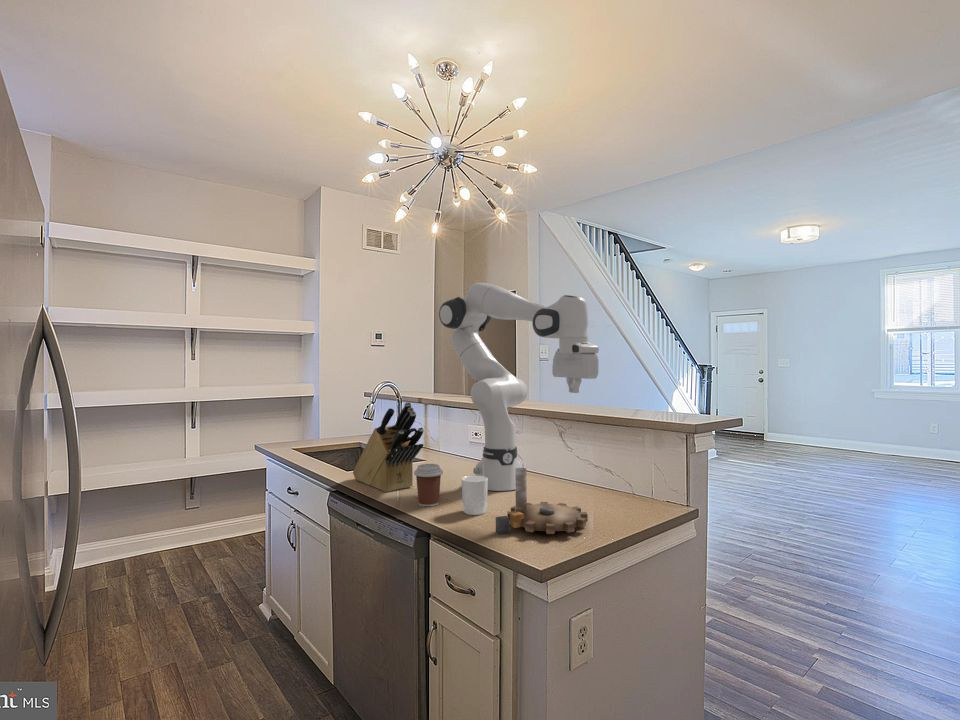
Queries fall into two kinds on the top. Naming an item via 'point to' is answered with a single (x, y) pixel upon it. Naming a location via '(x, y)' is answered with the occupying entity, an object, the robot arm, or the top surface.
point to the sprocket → (542, 512)
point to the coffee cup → (428, 484)
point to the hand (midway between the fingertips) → (573, 392)
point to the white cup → (474, 494)
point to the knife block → (390, 453)
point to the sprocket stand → (502, 525)
